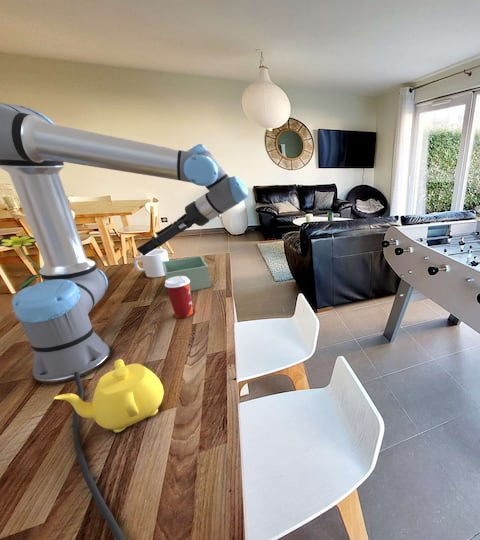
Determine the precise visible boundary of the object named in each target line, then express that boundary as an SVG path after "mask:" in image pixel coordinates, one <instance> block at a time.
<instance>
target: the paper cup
mask: <svg viewBox="0 0 480 540" xmlns="http://www.w3.org/2000/svg"><path fill="white" fill-rule="evenodd" d="M189 282H190V280H189V279H188V277H186V276H175V277H171V278H169V279H167V280H165V281H164V287H165V288H166V291H167V294H168V298H169V301H170V304H171V307H172V310H173V313H174V316H175V318H177V319H184V318H188V317H190V316H192V315H193V313H194V309H193V301H192V300H193V299H192V293H191V291H190V285H189Z"/></svg>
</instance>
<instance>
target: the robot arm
mask: <svg viewBox="0 0 480 540" xmlns="http://www.w3.org/2000/svg"><path fill="white" fill-rule="evenodd" d="M64 163H69V164H73V165H81V166H88V167H92V168H98V169H99V168H100V169H105V170H110V171H111V170H112V171H118V172H123V173H130V174H136V175H137V174H138V175H143V176H149V177H155V178H162V179H167V180H173V181H180V182H185V183H191V184H193V185H196V186H199V187H205V188H206V189H207V191H208V192H206V193H203V195H201V196H199V197H198V198H196V199H195V201H193V200H192V202H190V203H189V204H187V205H186V206H185V207H184V212H185V213H184V214H182V215H181V216H180V217H178V219H177V220H175V221H173V223H170V224H168V225H167V226H165V227H164V228H162V229H161V230H159V231H157V232H156V233H155V234H156V235H157V236H154V235H152V236H151V237H150V238H151V239H150V240H148V241H146V242H145V243H143V244H141V245H140V246H138V247H137V248H136V251H138V252H139V253H140V254H143V255H146V254H147V253H149V252H151V251H152V250H154V249H158V248H159V247H162V245H164V244H166V243H167V242H169V241H170V240H171V239H173V238H175V236H176V237H177V235H179V234H180V233H183V232H184V231H186V230H187V229H190V228H191V227H193V225H196V226H199V227H203V226H205V225H206V224H208V223H209V222H211V221H212V220H214V219H216V218H217V217H218V218H221V217H222V215H223V214H224V213H226V212H227V211H229V210H230V209H232V208H234V207H236V206H237V205H239V204H240V203H241V202H243V201H244V200H246V199H247V198H248V197H249V189H248V188H247V186H246V184H245V183H244V181H243V180H241V178H240V177H238V176H236V175H233V176H229V174H228V173H226V171H225V170H224V169H223V168H222V166H221V165H220V164H219V163H218V161H217V160H216V158H214V156H213V155H212V153H211V152H210V151H209V150H208V149H207V148H206V146H205V145H204V144H202V143H198V144H196V145H194V146H192V147H191V148H190V149H188V150H180V149H175V148H171V147H167V146H162V145H157V144H151V143H147V142H143V141H137V140H131V139H128V138H124V137H123V138H122V137H117V136H112V135H109V134H108V135H107V134H103V133H97V132H93V131H88V130H83V129H78V128H74V127H70V126H69V127H68V126H65V125H64V126H63V125H59V124H55V122H53V121H52V120H51V119H50V118H49V117H47V116H46V115H44V114H43V113H40V112H39V111H36V110H35V109H32V108H30V107H26V106H23V105H18V104H11V103H4V102H0V169H1V170H3V171H4V172H6V173H8V175H9V177H10V180H11V182H12V185H13V187H14V190H15V192H16V194H17V197H18V200H19V202H20V205H21V207H22V210H23V213H24V216H25V218H26V220H27V223H28V226H29V228H30V231H31V233H32V235H33V236H32V237H34V238H35V241H36V243H35V244H36V246H37V249H38V251H39V253H40V256H41V258H42V261H43V263H44V264H43V266H42V267H41V269H40V270H39V269H38V274H39V273H40V277H41V281H40V282H39V281H38V282H36V283H34V284H33V285H28V286H27V287H26V288H21V290H19V291H18V292H17V293H15V295H14V296H13V297H12V301H11V304H12V307H13V312H14V316H15V317H16V318H17V319H18V322H19V324H20V325H21V328H22V330H23V332H24V334H25V336H26V338H27V340H28V342H29V344H30V346H31V348H32V350H33V357H32V359H33V360H32V375H33V377H34V379H35V381H36V382H37V383H38V384H43V385H55V384H56V385H57V384H62V383H66V382H67V383H68V382H70V381H72V380H74V381H75V384H76V388H77V391H78V395H77V396H79V397H80V399H81V400H82V401H84V396H85V389H84V386H83V383H82V379H81V378H82V377H84V376H86V375H88V374H91V373H92V372H94V371H96V370H98V369H99V368H100V367H102V366H103V365H104V364H105V363H106V362H107V361H108V360H109V359H110V357H111V349H110V347H109V345H108V344H107V343H106V341H105V340H104V339H103V338H102V337H100V336H99V335H98V334H97V333H96V332H95V330H94V328H93V325H92V323H91V319H90V316H89V313H91V311H92V310H93V308H94V307H95V306H96V305H97V304H98V303H99V301H100V300H101V299H102V298H103V297H104V296H105V295H106V292H107V289H108V287H109V283H108V282H109V281H108V277H107V276H106V274H105V273H104V272H103V270H101V269H99V268H98V266H97V264H96V261H94V260H93V259H90V258H88V257H87V255H86V252H85V249H84V246H83V242H82V239H81V237H80V234H79V231H78V228H77V225H76V221H75V219H74V215H73V213H72V209H71V206H70V203H69V201H68V197H67V194H66V191H65V188H64V186H63V181H62V179H61V175H60V172H61V171H62V170H63V169H64V168H65V164H64ZM72 434H73V443H74V449H75V455H76V458H77V462H78V465H79V468H80V471H81V474H82V477H83V479H84V481H85V483H86V486H87V488H88V490H89V492H90V494H91V496H92V498H93V500H94V502H95V503H96V507H98V509H99V512H100V513H101V516H102V517H103V518H104V520H105V523H106V524H107V526H108V528H109V529H110V531H111V533H112V535H113V537H114V539H115V540H127V539H126V536H125V535H124V533H123V532H122V530H121V528H120V525H119V524H118V522H117V520H116V519H115V517H114V515H113V513H112V511H111V510H110V508H109V507H108V505H107V504H106V501H105V499H104V497H103V496H102V494H101V492H100V491H99V488H98V486H97V484H96V482H95V480H94V478H93V476H92V473H91V471H90V469H89V466H88V463H87V460H86V458H85V457H86V456H85V453H84V450H83V446H82V441H81V440H82V439H81V432H80V415H79V414H78V413H77V412H76V411H75V409H74V411H73V415H72Z"/></svg>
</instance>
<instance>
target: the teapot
mask: <svg viewBox="0 0 480 540" xmlns="http://www.w3.org/2000/svg"><path fill="white" fill-rule="evenodd" d="M113 364H114V366H113V367H114V369H112V370H111V371H109V372H107V373H105V374H103V375H102V376H101V377H100V378H99V380H98V381H97V384H96V387H95V390H94V394H93V397H92V401H90V402H89V401H84V400H83V401H82V400H81V399H80V397H79V396H78V395H77V394H75V393H69V392H68V393H63V394H58V395H56V396H54V397H53V399H54V400H62V401H65V402H68V403H69V404H71V406H72V407H73V409H74V410H75V411H76V412H77V413H78V414H79V417H82V418H85V419H94V421H95V422H96V424H97V425H98V426H100V427H101V428H102V429H103V428H104V429H107V430H111V431H113V432H114V433H120V432H122V431H124V430H125V429H126V428H127V427H130V426H132V425H135V424H137V423H139V422H141V421H143V420H145V419H146V418H150V417H154V416H155V415H157V413H158V412H159V407H160V406H161V404H162V402H163V399H164V394H165V391H164V387H163V383H162V382H161V380H160V378H159V377H158V376H157V375H156V374H155V373H154V372H153V371H152V370H150V369H149V368H147V367H146V366H144V365H142V364H140V363H130V364H127V365H125V361H124V360H123V359H121V358H118V359H116V360H115V361H114V363H113Z"/></svg>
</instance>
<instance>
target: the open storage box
mask: <svg viewBox="0 0 480 540" xmlns="http://www.w3.org/2000/svg"><path fill="white" fill-rule="evenodd" d="M162 264H163V268H164V272H165V276H164V277H165V279H166V280H167V279H169V278H171V277H175V276H186V277H188V279H189V280H190V282H189V285H190V292H192V291H197V290H202V289H207V288H212V281H211V277H210V270H209V266H208V263H207V262H206V261H205V259H204V257H203V256H202V255H198V256H190V257H184V258H176V259H169V261H162ZM166 280H165V281H166Z"/></svg>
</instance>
